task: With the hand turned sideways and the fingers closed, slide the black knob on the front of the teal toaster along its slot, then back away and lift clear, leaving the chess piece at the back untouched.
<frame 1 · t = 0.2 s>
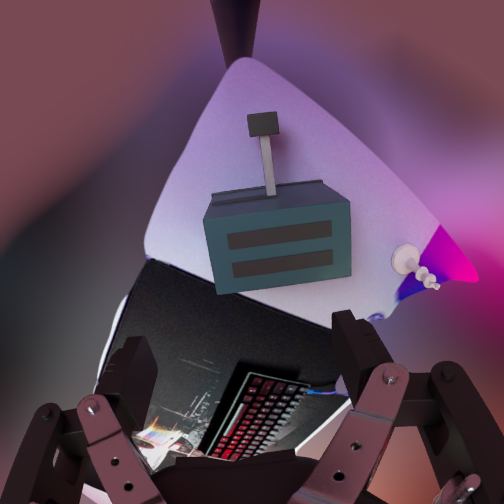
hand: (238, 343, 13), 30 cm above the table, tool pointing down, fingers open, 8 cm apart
chess piece: (404, 258, 45), on the table
toaster: (271, 216, 41), on the table
slider: (266, 154, 33), point 6 cm above the table, slide at 0.0 cm
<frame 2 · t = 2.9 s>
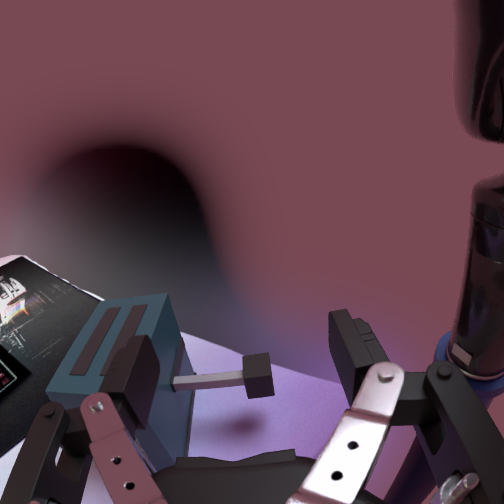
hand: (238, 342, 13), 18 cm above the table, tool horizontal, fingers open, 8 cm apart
toaster: (155, 421, 29), on the table
slider: (222, 380, 27), point 6 cm above the table, slide at 0.0 cm
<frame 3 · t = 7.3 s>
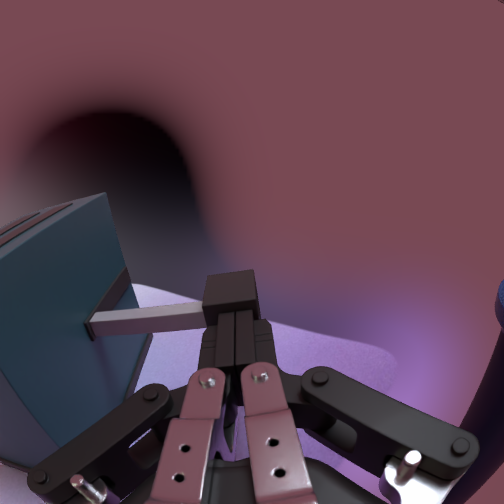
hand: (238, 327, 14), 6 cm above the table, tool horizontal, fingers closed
toaster: (80, 398, 18), on the table
slider: (170, 318, 15), point 6 cm above the table, slide at 0.2 cm, touching gripper
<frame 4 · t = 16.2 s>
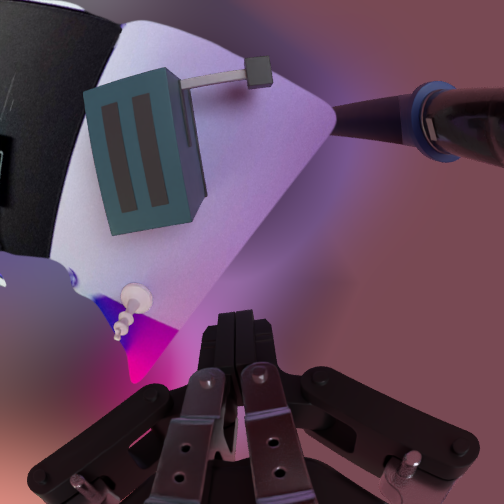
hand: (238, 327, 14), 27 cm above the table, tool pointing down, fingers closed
chess piece: (137, 296, 44), on the table
toaster: (164, 145, 36), on the table
slider: (225, 77, 28), point 6 cm above the table, slide at 6.1 cm
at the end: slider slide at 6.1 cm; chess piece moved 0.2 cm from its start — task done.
